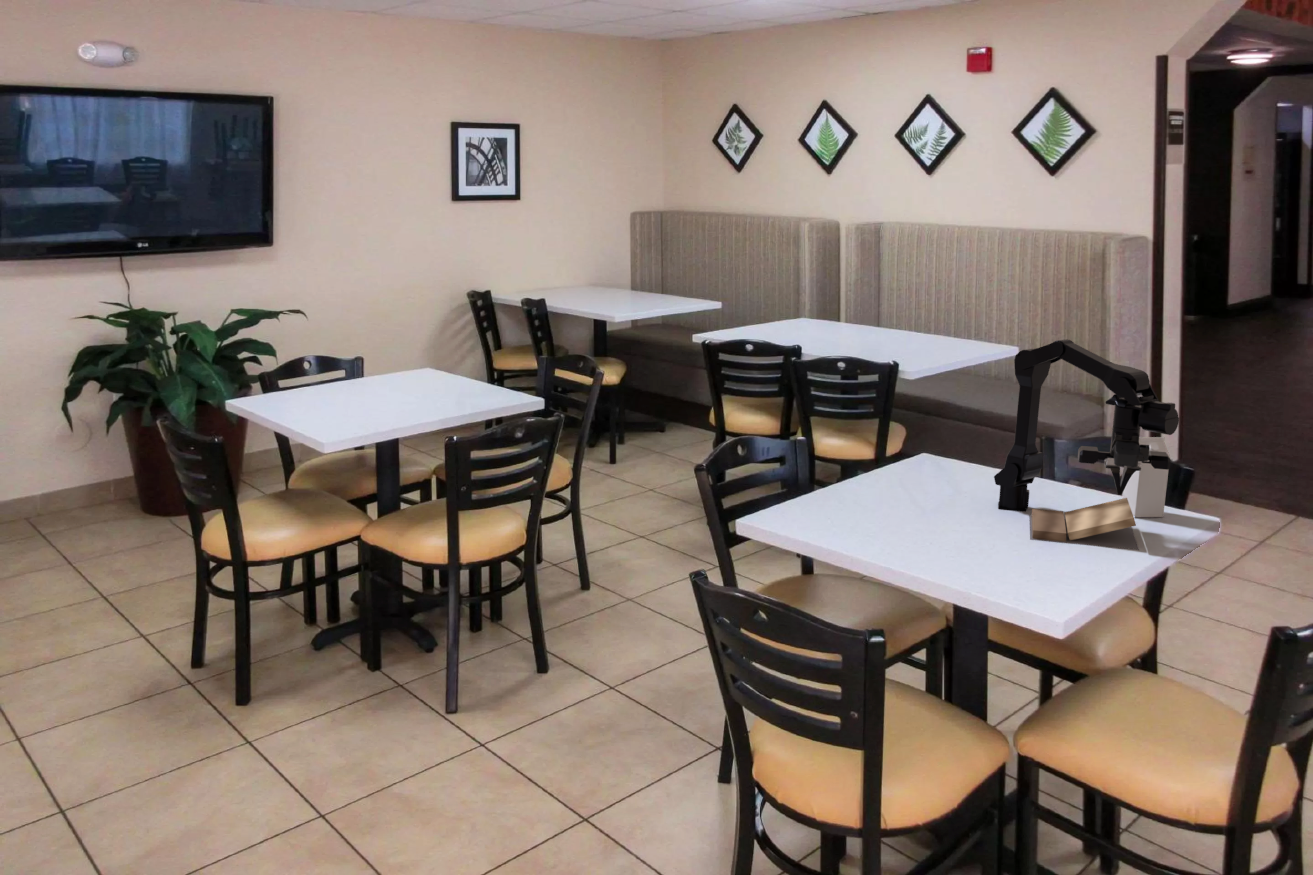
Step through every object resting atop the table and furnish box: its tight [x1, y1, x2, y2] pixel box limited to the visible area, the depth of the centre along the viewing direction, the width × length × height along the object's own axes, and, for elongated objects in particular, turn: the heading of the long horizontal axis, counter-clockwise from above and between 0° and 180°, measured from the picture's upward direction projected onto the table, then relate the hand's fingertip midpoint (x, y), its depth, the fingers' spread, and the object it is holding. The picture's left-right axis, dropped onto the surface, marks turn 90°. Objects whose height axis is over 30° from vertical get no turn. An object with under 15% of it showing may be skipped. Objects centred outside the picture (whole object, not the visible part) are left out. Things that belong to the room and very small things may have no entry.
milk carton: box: [1121, 436, 1171, 518], centre depth 269 cm, size 7×7×19 cm
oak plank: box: [1064, 498, 1137, 540], centre depth 253 cm, size 14×17×2 cm
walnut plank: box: [1031, 508, 1066, 542], centre depth 257 cm, size 7×18×2 cm, turn 163°
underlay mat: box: [1028, 514, 1140, 551], centre depth 255 cm, size 22×20×1 cm
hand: (1119, 494), depth 251 cm, fingers closed
